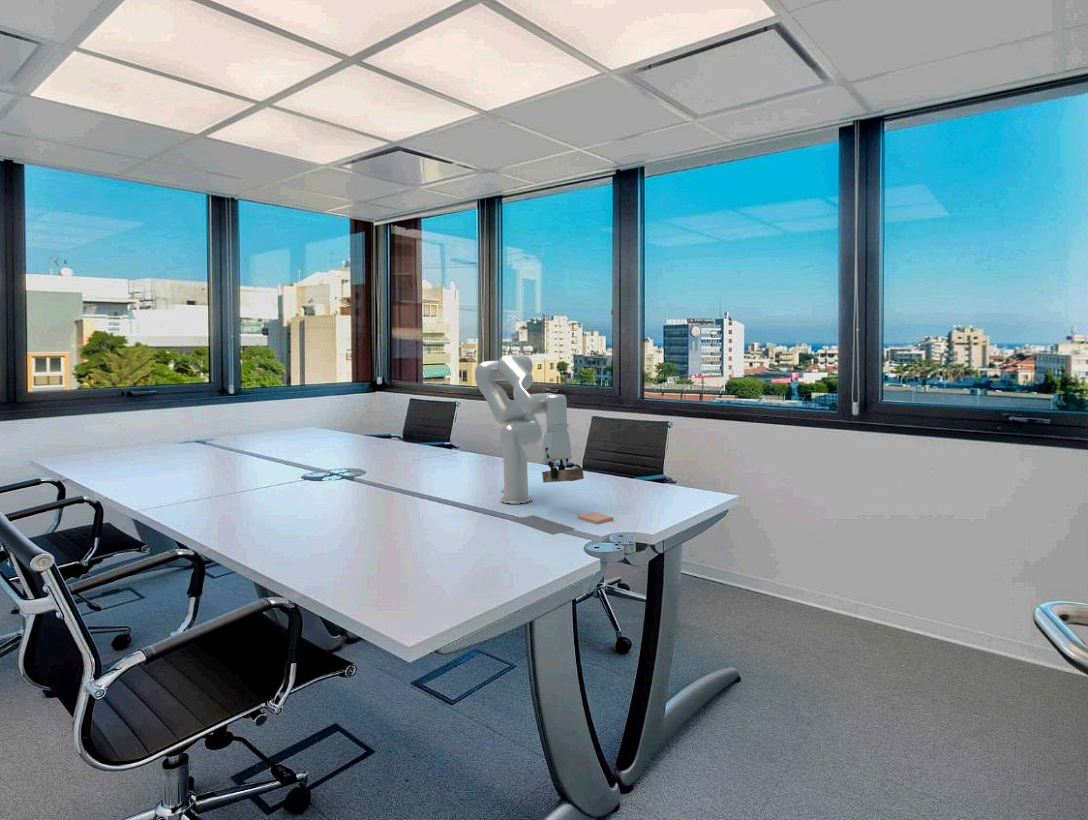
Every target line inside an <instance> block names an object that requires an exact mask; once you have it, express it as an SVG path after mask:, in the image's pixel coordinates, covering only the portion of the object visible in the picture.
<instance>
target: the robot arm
mask: <svg viewBox="0 0 1088 820" xmlns="http://www.w3.org/2000/svg"><path fill="white" fill-rule="evenodd" d="M533 366H534V365H533V362H532V359H531V358H530V357H529V356H528V355H524V354H515V355H514V354H513V355H512V354H510V355H509V354H508V355H504V356H502V357H500V358H499V359H498V360H488V361H487V360H485V361H482V362H479V364H477V366H476V367H475V370H474V380H475V383H476V386H477V388H478V390H479V392H480V393H481V394H482V395H483V397H484V398H485V400H486V403H487V404H488V407H489V409H490V411H491V413H492V415H493V417H494V420H496V422H497V424H500V425H504V426H502V427H501V429H500V431H499V435H500V437H499V438H500V443H501V447H502V456H503V457H502V458H503V460H502V461H503V486H504V488H503V489H501V490H500V492H501V494H503V496H501V497H500V503H503V502H504V504H506V503H510V504H509V505H521V504H520V503H523V504H527V503H526V502H528V503H530V502H532V501H531V500H533V497H532V496H531V495H529V486H528V485H529V479H528V478H529V477H528V455H527V453H526V451H525V450H524V448H523V447H524V446H528V445H529V446H530V445H536V444H538V443H540V441H541V440H542V438H543V442H542V443H543V444H542V457H543V459H542V462H543V463H545V464H546V465H547V466H548V468H550V471H551V478H553V479H557V478H558V473H557V471H558V470H565V469H566V467H567V466H568V465H567V464H568V463H569V461H571V459H572V458H573V456H572V454H571V453H572V451H571V448H572V447H571V439H570V438H571V437H570V433H569V431H568V428H569V427H570V426H569V423H568V411H567V409H568V407H567V406H568V403H567V397H566V395H565V394H559V393H558V394H557V393H551V392H546V393H545V392H544V393H532V394H531V393H529V392H528V391H527V390H528V389H529V388H530V387H531V386H532V384H533V381H534V378H533V375H532V371H533ZM506 381H507V382H508V383H509V385H511V386H512V387H513V389H512V394H513V399H510V398H509V397H508V394H507V392H506V391H505V389H504V388H503V387H502V386H500V385H499V384H498V383H496V382H506ZM538 414H540V415H542V414H545V415H546V418H545V420H546V432H544V436H543V430H542V427H541V424H540V422H539V420H538V419H537V417H536V415H538ZM557 461H558V464H559V465H558V466H557ZM557 467H558V468H557ZM529 501H530V502H529Z"/></svg>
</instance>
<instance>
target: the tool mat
mask: <svg viewBox="0 0 1088 820" xmlns="http://www.w3.org/2000/svg"><path fill="white" fill-rule="evenodd" d="M511 521H512V522H515V523H518V524H521V525H524V526H526V527H530V528H532V529H535V530H538V531H541V532H544V533H547V534H550V535H558V534H561V533H566V532H570V531H574V530H576V528H574V527H572V526H568V525H566V524H562V523H560V522H555V521H552V520H549V519H546V518H543V517H541V516H538V515H534V514H532V515H528V516H523V517H519V518H513V519H511Z"/></svg>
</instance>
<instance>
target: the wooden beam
mask: <svg viewBox="0 0 1088 820" xmlns="http://www.w3.org/2000/svg"><path fill="white" fill-rule="evenodd" d="M557 473H558V478H557V479H553V478H551V470H545V471H542V472H541V476H542V483H545V484H546V483H555V482H556V483H559V482H574V481H580V480H584V479H585V477H584V470H583V467H578V468H567V469H566V468H565V470H558V471H557Z"/></svg>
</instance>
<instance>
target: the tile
mask: <svg viewBox="0 0 1088 820" xmlns="http://www.w3.org/2000/svg"><path fill="white" fill-rule="evenodd" d="M577 519H578V520H581V521H585V522H587V523H591V524H595V525H599V524H602V523H607V522H609V523H613V522H614V516H611V515H608V514H604V513H601V512H597V511H590V512H586V513H583V514H579V515H577ZM612 521H613V522H612Z"/></svg>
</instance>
